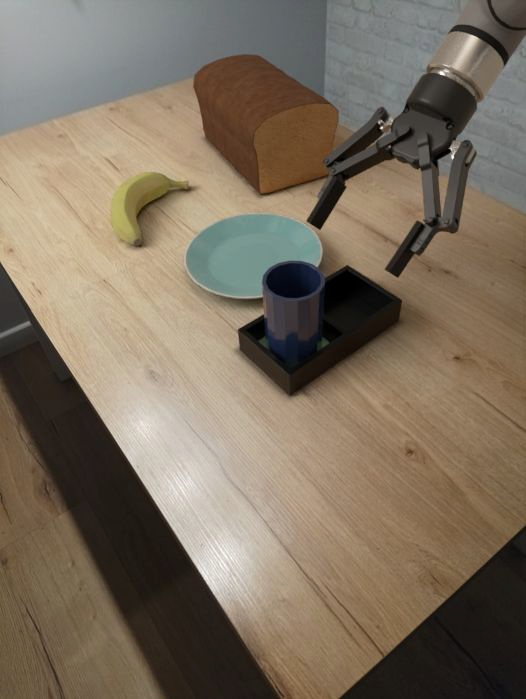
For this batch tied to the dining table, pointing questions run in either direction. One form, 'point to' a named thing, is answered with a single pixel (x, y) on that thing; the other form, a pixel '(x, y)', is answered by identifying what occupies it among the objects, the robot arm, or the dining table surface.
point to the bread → (265, 121)
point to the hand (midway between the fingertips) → (349, 248)
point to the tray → (328, 329)
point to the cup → (293, 310)
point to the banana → (137, 202)
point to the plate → (248, 252)
